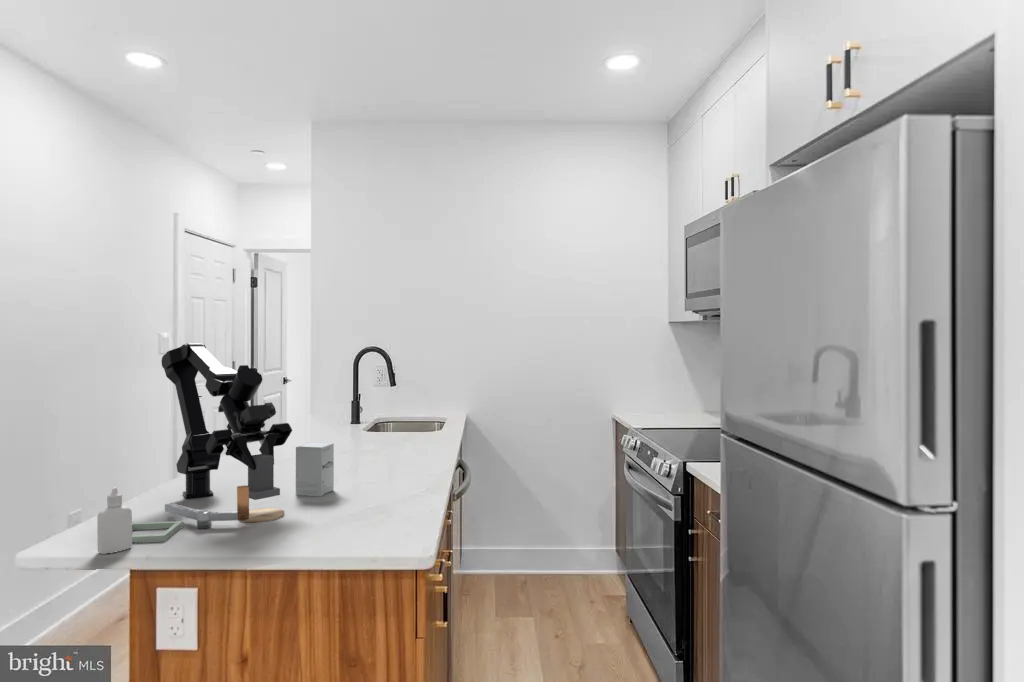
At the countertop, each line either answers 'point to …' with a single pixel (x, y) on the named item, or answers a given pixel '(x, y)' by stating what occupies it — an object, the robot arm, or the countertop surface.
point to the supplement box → (314, 469)
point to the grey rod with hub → (207, 517)
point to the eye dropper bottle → (114, 525)
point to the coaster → (264, 514)
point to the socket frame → (162, 537)
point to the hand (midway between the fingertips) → (263, 467)
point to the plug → (262, 478)
